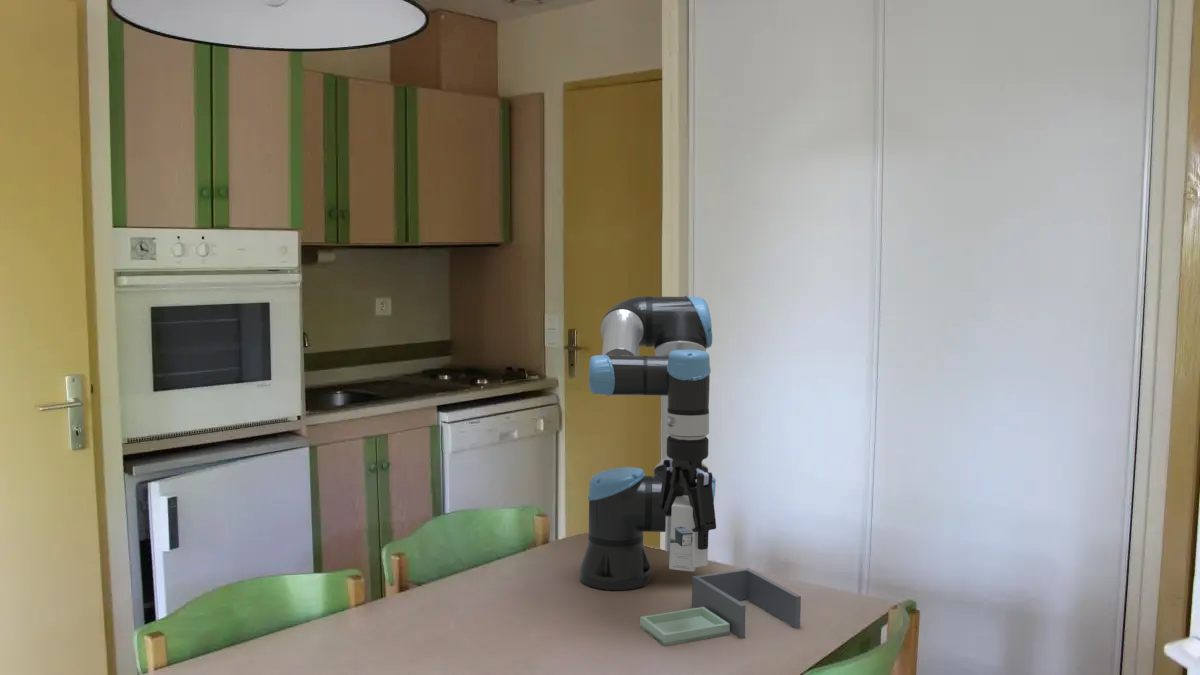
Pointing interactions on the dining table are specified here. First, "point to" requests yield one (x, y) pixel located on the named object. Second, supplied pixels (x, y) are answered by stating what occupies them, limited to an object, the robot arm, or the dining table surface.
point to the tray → (684, 626)
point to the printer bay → (744, 597)
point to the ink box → (681, 535)
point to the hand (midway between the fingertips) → (685, 557)
